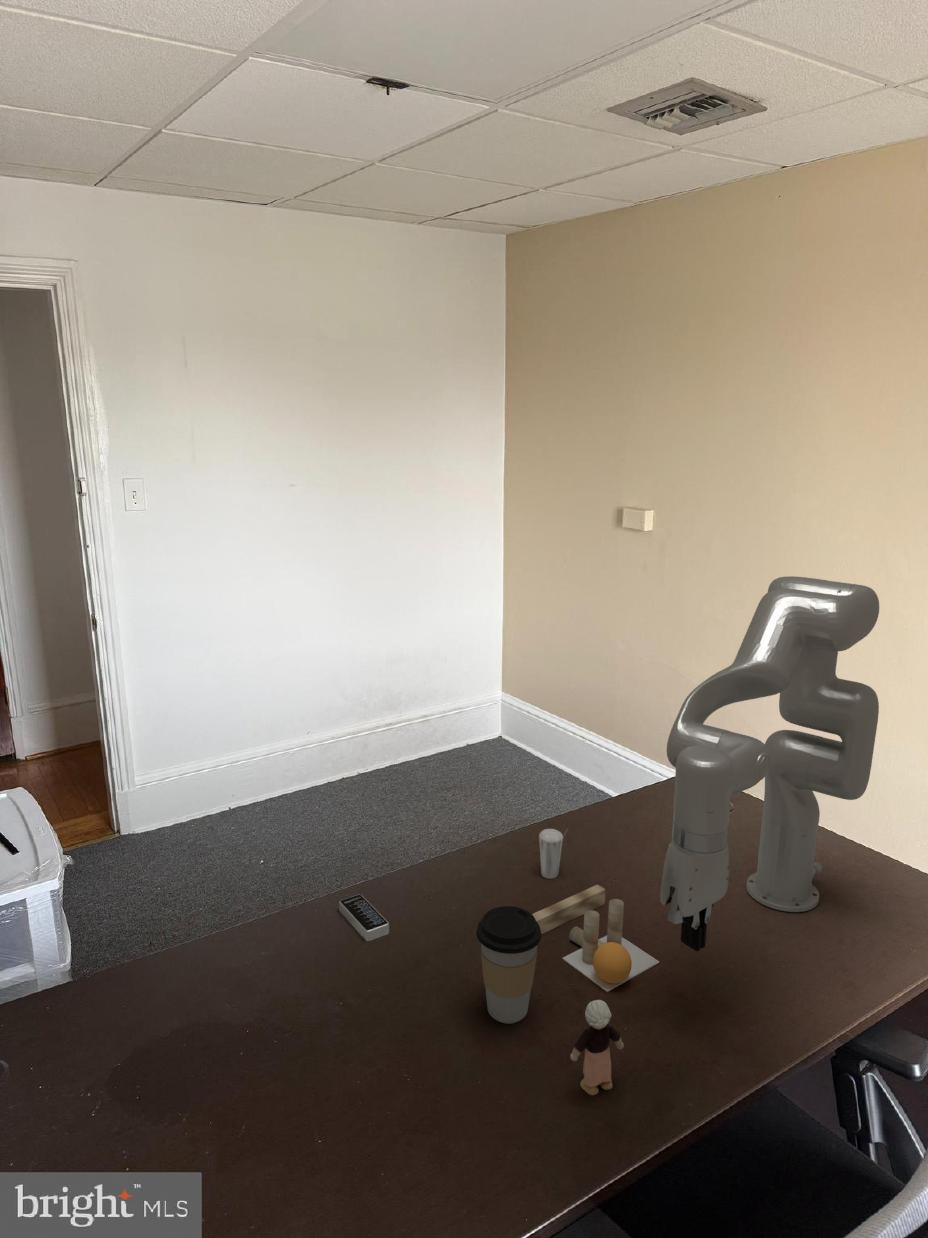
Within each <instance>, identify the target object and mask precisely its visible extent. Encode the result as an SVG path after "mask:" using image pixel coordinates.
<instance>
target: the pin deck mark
mask: <svg viewBox="0 0 928 1238" xmlns="http://www.w3.org/2000/svg"><path fill="white" fill-rule="evenodd" d="M598 940H600V941H602V942H603V943H607V935H604V936H603V937H601V938H598ZM621 945H622V946H623V947H624V948H625V949H626V950H627V951H628V953H629V954H630V957H631V961H632V967H631V971H630V974H629V975H628V977H627V978H626V979H625V980H623V981H622V982H619V983H607V982H605V981H603V980H602V979H601V978H599V977H598V975H597V974H596V972H595V970H594V967H593V965H589V964H586V963H584V962H583V961H582V953H583V947H580V948H578V949H577V950H575V951H573V952H571V953H569V954H567V955H566V956H563V957H562V960H563V961H565V962H566V963H567V964H568V965H569V966H571V967H572V968H574V969H575V970H576V971H578V972H579V973H581V974H582V975H583V976H585V977H586V978H587V979H589V980H591V981H592V982H593V983H594V984H596V985H597V986H599V988H601V989H602V990H604V992H607V993H608V992H610V991H612V990H613V989H616V988H617V987H619V986H620V985H623V984H624V983H626V982H627V981H629V980H631V979H633V978H635V977H637V976H638V975H640V974H642V973H644V972H646V971H648V970H649V969H651V968H652V967H654V966H657V964H660V960H657V959H656V958H654V957H653V956H651V955H650V954H648V953H647V952H645V951H644V950H643V949H641V948H639V947H638V946H637V945H635V944H634V943H632V942H630V941H629V940H627V939H625V938H624V937H623V936H622V942H621Z"/></svg>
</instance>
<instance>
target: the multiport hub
mask: <svg viewBox="0 0 928 1238" xmlns="http://www.w3.org/2000/svg"><path fill="white" fill-rule="evenodd" d="M338 907H339V908H338V909H339V913H340V914H341V915H342V916H343V917H344V919H346V920H347V921H348V923H349V924H350V925H351V926H352V927H353V928H354V930H356V931H357V932H358V934H359V935H360V936H361V937H362V938H363V940H365V941H366V942H370V941H373V940H376V939H378V938H381V937H383V936H386V935H389V934H390V923H389V921H388V920H387V919H386V918H385V917H384V916H383V915H382V914H381V913H380V912H379V911H378V910H377V909H376V908H375V907H374V906H373V905H372V903H370V902H369V901H368V900H367V898H365V896H363V895H362V894H355V895H353V896H349V897H346V898H344V899H341V900H339V901H338Z"/></svg>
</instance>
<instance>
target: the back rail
mask: <svg viewBox="0 0 928 1238" xmlns="http://www.w3.org/2000/svg"><path fill="white" fill-rule="evenodd" d="M605 904H606V888H604V887H603V886H601V885H599V884H596V885H593V886H590V887H589V888H587V889H585V890H583V891H580V892H577V893H575V894H574V895H571V896H569V897H567V898H564V899H563V900H560V901H558V902H555V903H554V904H552V905H550V906H547V907H545V908H543V909H541V910H540V909H539V910H538V911H536V912H533V913H531V914H532V915H533V916H534V918H535V920H536V921H537V923H538V924H539V926H540V929H541V935H543V934H546V933H547V932H549V931H552V930H553V929H556V928H557V927H559V926H562V925H564V924H566V923H568V922H570V921H572V920H574V919H577V918H579V917H581V916H583V915H584V913H585V912H586V911H589V910H592V911H594V910H596V909H598V908H600V907H601V906H604V905H605Z"/></svg>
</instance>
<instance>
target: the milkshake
mask: <svg viewBox="0 0 928 1238" xmlns="http://www.w3.org/2000/svg"><path fill="white" fill-rule="evenodd" d="M567 831H568V828H566V831H564V833H562V832H561V831H560V830H557V829H555V828H545V829H542V830H541V832H540V833H539V834H538V841H539V857H540V858H539V859H540V872H541V873H540V874H541V876H542V877H543V878H544V879H550V880H552V879H557V877H559V872H560V863H561V857H562V856H561V855H562V849H563V848H562V847H563V841H564V837H565V835H566V834H567ZM563 834H564V835H563Z"/></svg>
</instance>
